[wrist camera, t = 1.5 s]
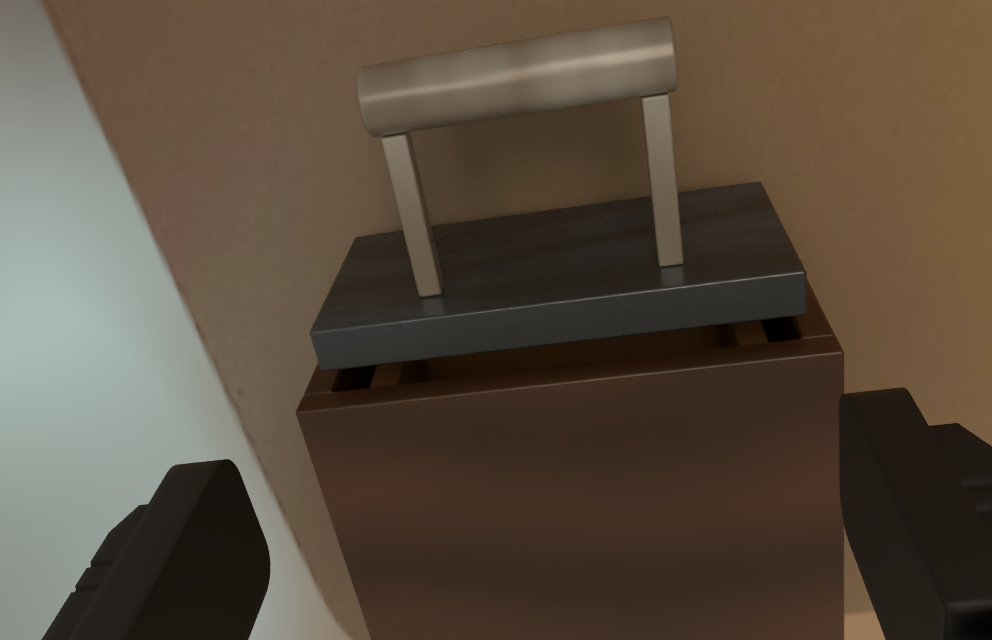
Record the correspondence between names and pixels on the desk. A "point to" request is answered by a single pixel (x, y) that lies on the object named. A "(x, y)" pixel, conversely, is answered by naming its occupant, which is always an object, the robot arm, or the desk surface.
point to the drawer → (550, 231)
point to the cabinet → (594, 495)
